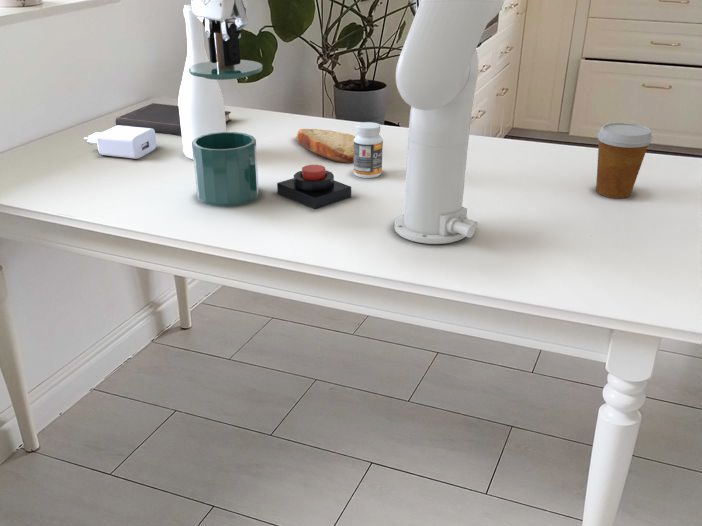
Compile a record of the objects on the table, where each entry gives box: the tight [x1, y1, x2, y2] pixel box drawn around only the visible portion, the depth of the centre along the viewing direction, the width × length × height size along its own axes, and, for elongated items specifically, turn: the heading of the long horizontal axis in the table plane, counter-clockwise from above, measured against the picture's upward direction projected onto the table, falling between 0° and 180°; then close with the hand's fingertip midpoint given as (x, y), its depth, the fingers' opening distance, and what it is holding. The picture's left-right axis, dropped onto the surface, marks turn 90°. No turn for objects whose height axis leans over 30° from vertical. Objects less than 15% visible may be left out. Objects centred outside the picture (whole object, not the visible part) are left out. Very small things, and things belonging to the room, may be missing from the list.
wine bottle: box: [177, 3, 227, 161], centre depth 156 cm, size 10×10×30 cm
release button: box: [301, 164, 326, 180], centre depth 140 cm, size 4×4×2 cm
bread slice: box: [295, 128, 357, 164], centre depth 166 cm, size 18×18×4 cm
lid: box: [189, 30, 263, 81], centre depth 126 cm, size 12×12×7 cm
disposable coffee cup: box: [595, 122, 654, 199], centre depth 139 cm, size 10×10×12 cm
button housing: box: [276, 169, 352, 210], centre depth 141 cm, size 11×9×4 cm
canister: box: [192, 131, 260, 208], centre depth 140 cm, size 11×11×10 cm
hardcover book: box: [115, 102, 232, 136], centre depth 184 cm, size 16×23×2 cm
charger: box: [83, 125, 157, 160], centre depth 166 cm, size 5×9×15 cm
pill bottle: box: [353, 121, 384, 179], centre depth 150 cm, size 6×6×10 cm
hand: (225, 62), depth 127 cm, fingers closed on lid, 3 cm apart
